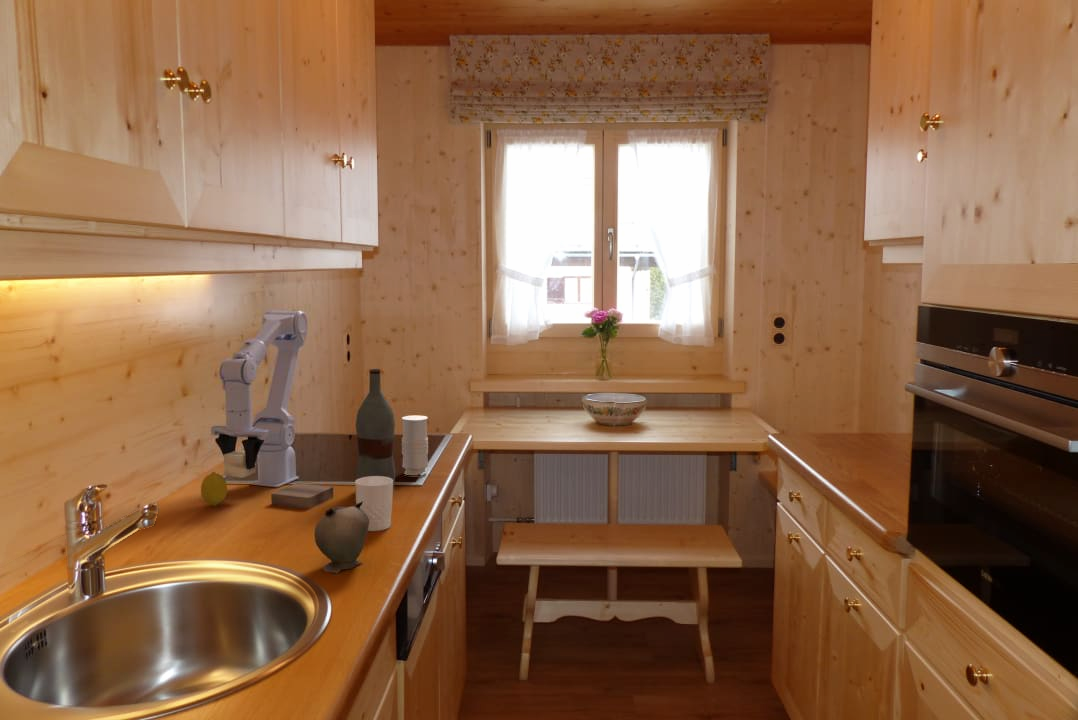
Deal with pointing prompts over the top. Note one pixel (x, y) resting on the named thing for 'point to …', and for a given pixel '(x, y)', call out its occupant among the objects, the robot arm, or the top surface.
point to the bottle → (375, 433)
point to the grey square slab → (302, 495)
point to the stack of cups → (414, 444)
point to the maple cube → (237, 464)
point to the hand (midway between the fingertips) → (240, 467)
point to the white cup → (375, 500)
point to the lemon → (214, 489)
